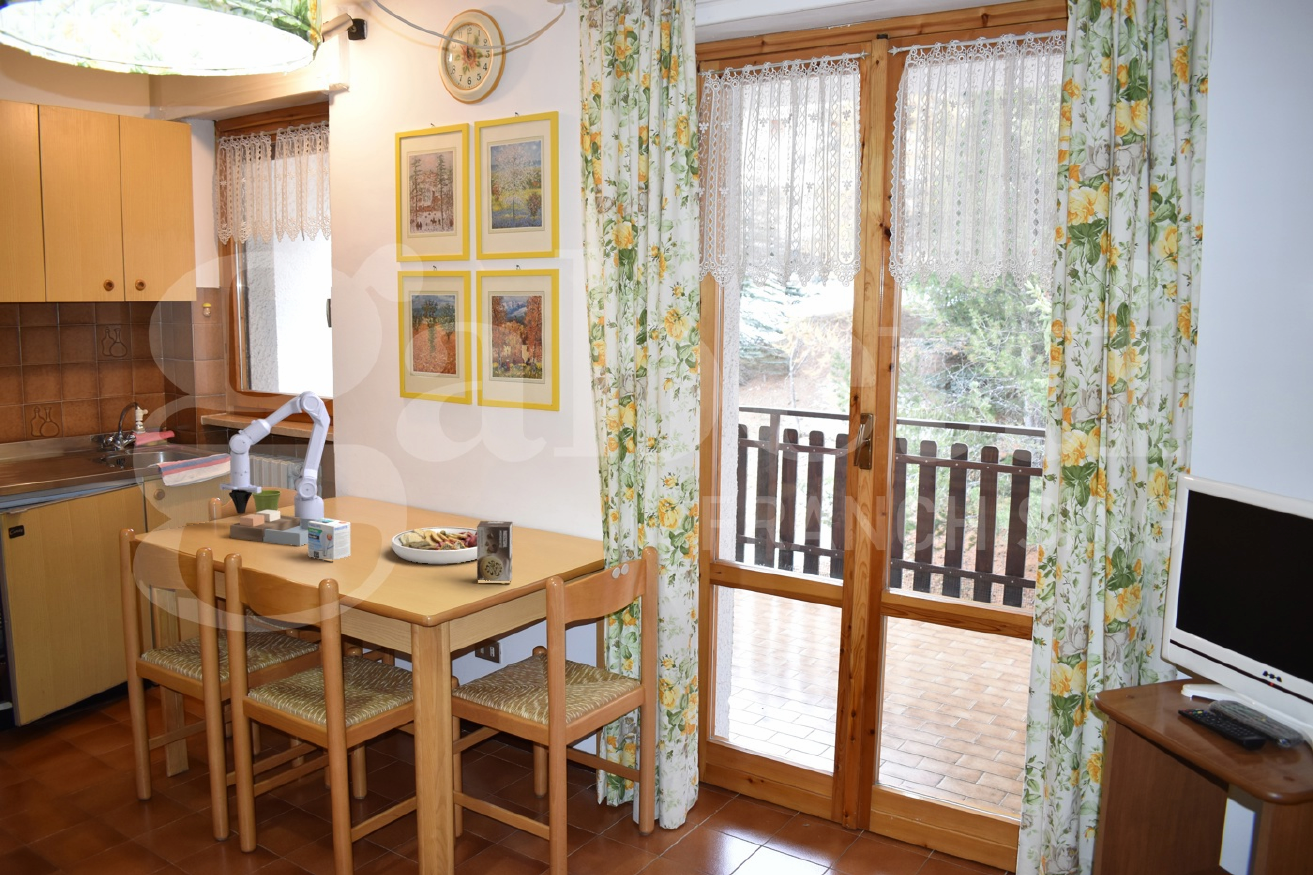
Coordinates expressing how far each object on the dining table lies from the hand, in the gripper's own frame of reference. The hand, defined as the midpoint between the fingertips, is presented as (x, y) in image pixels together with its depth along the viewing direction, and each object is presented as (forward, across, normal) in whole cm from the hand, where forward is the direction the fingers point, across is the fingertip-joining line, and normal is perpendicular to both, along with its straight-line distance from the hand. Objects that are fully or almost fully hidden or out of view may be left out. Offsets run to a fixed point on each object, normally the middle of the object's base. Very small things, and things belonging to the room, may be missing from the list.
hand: (241, 513), depth 305 cm
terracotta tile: (+1, +11, -8) cm, 13 cm away
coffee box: (+5, +101, -20) cm, 103 cm away
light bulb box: (+5, +47, -18) cm, 50 cm away
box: (+5, +24, -2) cm, 25 cm away
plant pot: (+5, -4, +16) cm, 18 cm away
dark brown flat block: (+5, +12, -2) cm, 13 cm away
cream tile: (+1, +10, 0) cm, 11 cm away
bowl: (+6, +74, 0) cm, 74 cm away
